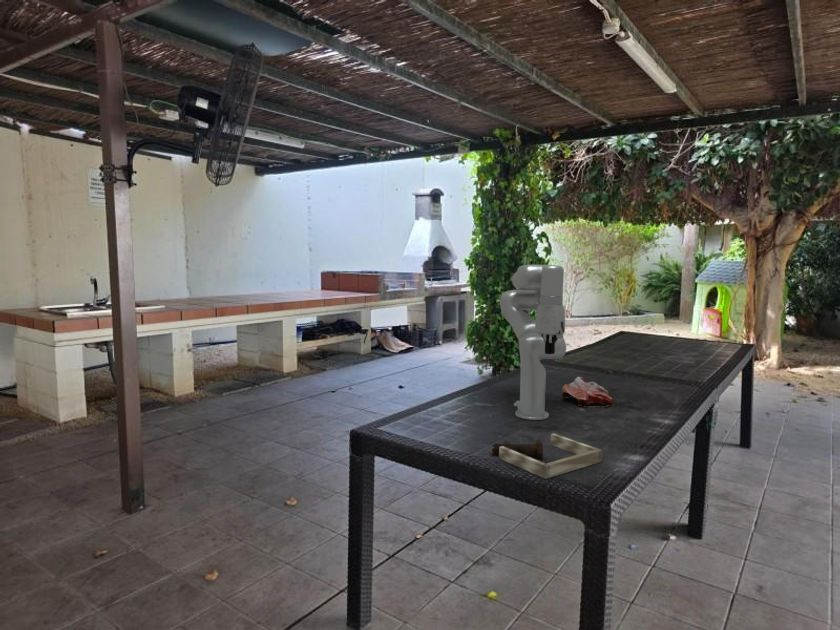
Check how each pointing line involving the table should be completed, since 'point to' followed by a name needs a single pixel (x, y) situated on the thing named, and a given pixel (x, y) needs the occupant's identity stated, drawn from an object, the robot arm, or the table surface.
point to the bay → (582, 459)
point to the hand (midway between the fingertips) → (549, 353)
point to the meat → (587, 393)
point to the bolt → (522, 448)
